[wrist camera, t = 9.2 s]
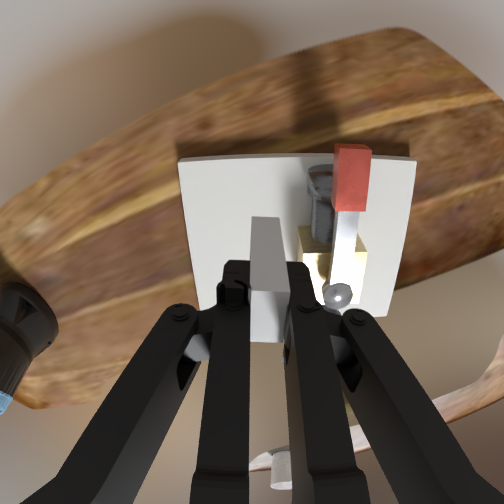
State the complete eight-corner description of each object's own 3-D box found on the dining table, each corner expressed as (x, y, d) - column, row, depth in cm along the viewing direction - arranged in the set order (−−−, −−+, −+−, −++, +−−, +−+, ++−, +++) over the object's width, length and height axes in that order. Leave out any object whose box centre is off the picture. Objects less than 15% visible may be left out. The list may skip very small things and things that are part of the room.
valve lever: (347, 298, 35) (351, 309, 33) (319, 299, 35) (321, 311, 33) (367, 144, 26) (374, 150, 24) (332, 142, 26) (337, 148, 25)
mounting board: (204, 313, 49) (202, 322, 48) (181, 158, 37) (177, 162, 35) (382, 307, 48) (386, 316, 46) (410, 157, 36) (416, 161, 34)
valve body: (294, 317, 47) (298, 356, 40) (298, 164, 35) (307, 187, 29) (340, 315, 46) (350, 353, 40) (358, 164, 35) (380, 187, 28)
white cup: (304, 452, 76) (306, 483, 68) (287, 461, 80) (288, 491, 71) (281, 447, 74) (282, 480, 66) (264, 456, 78) (264, 487, 69)
